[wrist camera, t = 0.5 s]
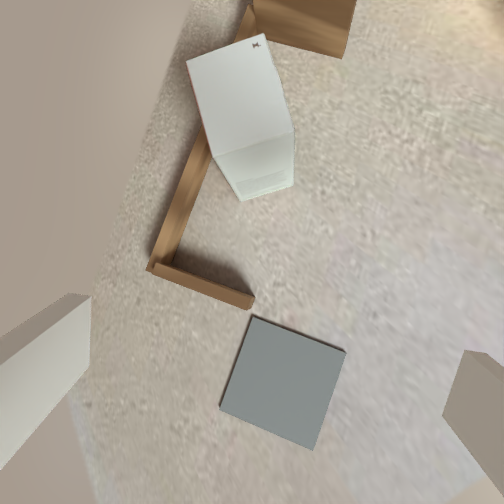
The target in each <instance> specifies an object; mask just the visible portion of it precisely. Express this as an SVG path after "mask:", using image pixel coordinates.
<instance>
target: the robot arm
mask: <svg viewBox="0 0 504 504" xmlns="http://www.w3.org/2000/svg"><path fill="white" fill-rule="evenodd" d="M91 298H92V296H87V295H81V294H73V293H68V294H67V295H65V296H64V297H62V298H60V299H59V300H57V301H56V302H54V303H53V304H51V305H50V306H48V307H47V308H45V309H44V310H42V311H41V312H39V313H37V314H36V315H34V316H33V317H31V318H30V319H28V320H27V321H25V322H24V323H22V324H21V325H19V326H17V327H16V328H14V329H13V330H11V331H10V332H8V333H7V334H5V335H4V336H2V337H1V338H0V470H1V469H2V468H3V467H4V466H5V464H6V463H7V462H8V461H9V460H10V458H11V457H12V456H13V455H14V454H15V453H16V452H17V450H18V449H19V448H20V447H21V446H22V444H23V443H24V442H25V441H26V440H27V439H28V437H29V436H30V435H31V434H32V433H33V432H34V430H35V429H36V428H37V427H38V426H39V425H40V424H41V422H42V421H43V420H44V419H45V418H46V416H47V415H48V414H49V413H50V412H51V411H52V409H53V408H54V407H55V406H56V405H57V404H58V402H59V401H60V400H61V399H62V398H63V397H64V395H65V394H66V393H67V392H68V391H69V390H70V388H71V387H72V386H73V385H74V384H75V383H76V381H77V380H78V379H79V378H80V377H81V376H82V374H83V373H84V372H85V371H86V370H87V369H88V367H89V358H90V328H91ZM442 416H443V418H444V419H445V420H446V422H447V423H448V424H449V426H450V427H451V428H452V430H453V431H454V432H455V434H456V435H457V436H458V437H459V439H460V440H461V441H462V443H463V444H464V445H465V447H466V448H467V449H468V451H469V452H470V453H471V455H472V456H473V457H474V459H475V460H476V461H477V462H478V464H479V465H480V466H481V468H482V469H483V470H484V472H485V473H486V474H487V476H488V477H489V478H490V480H491V481H492V482H493V484H494V485H495V486H496V487H497V489H498V490H499V491H500V493H501V494H502V495H503V497H504V367H503V366H501V365H500V364H499V363H498V362H496V361H495V360H494V359H493V358H491V357H490V356H489V355H488V354H486V353H482V352H475V351H468V350H464V353H463V356H462V359H461V362H460V365H459V368H458V371H457V374H456V376H455V379H454V382H453V385H452V388H451V391H450V394H449V397H448V400H447V402H446V405H445V408H444V411H443V414H442Z"/></svg>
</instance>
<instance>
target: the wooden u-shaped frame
mask: <svg viewBox="0 0 504 504" xmlns="http://www.w3.org/2000/svg"><path fill="white" fill-rule="evenodd" d="M356 1H357V0H253V5H251V4H248V6H247V8H246V11H245V13H244V16H243V19H242V21H241V24H240V26H239V29H238V32H237V34H236V37H235V39H234V42H233V43H236V42H239V41H242V40H245V39H247V38H251V37H254V36H257V35H259V34H262V33H264V34H265V37H266V40H269V41H273V42H277V43H281V44H285V45H289V46H293V47H297V48H300V49H304V50H308V51H312V52H316V53H320V54H324V55H328V56H332V57H336V58H340V59H342V57H343V54H344V51H345V48H346V44H347V39H348V35H349V31H350V27H351V22H352V18H353V14H354V9H355V5H356ZM211 158H212V155H211V152H210V149H209V145H208V142H207V138H206V134H205V131H204V127H203V124H202V125H201V127H200V130H199V133H198V135H197V138H196V140H195V143H194V146H193V148H192V151H191V153H190V156H189V158H188V161H187V164H186V166H185V169H184V171H183V174H182V177H181V179H180V182H179V184H178V187H177V190H176V192H175V195H174V197H173V200H172V202H171V205H170V208H169V210H168V213H167V215H166V218H165V221H164V223H163V226H162V228H161V231H160V234H159V236H158V239H157V241H156V244H155V246H154V249H153V252H152V254H151V257H150V259H149V262H148V265H147V267H146V271H148V272H151V273H152V274H153V275H156V276H158V277H161V278H163V279H166V280H169V281H171V282H174V283H176V284H179V285H182V286H184V287H187V288H189V289H192V290H195V291H197V292H200V293H202V294H205V295H208V296H210V297H213V298H215V299H218V300H220V301H223V302H226V303H228V304H231V305H233V306H236V307H239V308H241V309H244V310H246V311H247V310H248V309H250V308H252V305H253V302H254V299H255V297H254V296H251V295H249V294H246V293H243V292H241V291H238V290H235V289H233V288H230V287H227V286H225V285H222V284H219V283H217V282H214V281H211V280H209V279H206V278H203V277H201V276H198V275H196V274H193V273H190V272H188V271H185V270H182V269H180V268H177V267H174V266H172V265H171V263H172V261H173V258H174V255H175V253H176V250H177V248H178V245H179V242H180V240H181V237H182V234H183V232H184V229H185V227H186V224H187V221H188V219H189V216H190V213H191V211H192V208H193V206H194V203H195V200H196V198H197V195H198V192H199V190H200V187H201V185H202V182H203V179H204V177H205V174H206V172H207V169H208V166H209V164H210V161H211Z"/></svg>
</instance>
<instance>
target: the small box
mask: <svg viewBox="0 0 504 504" xmlns="http://www.w3.org/2000/svg"><path fill="white" fill-rule="evenodd" d="M186 67H187V71H188V75H189V78H190V82H191V85H192V89H193V93H194V96H195V100H196V103H197V107H198V110H199V114H200V117H201V121H202V124H203V127H204V131H205V134H206V138H207V142H208V145H209V149H210V152H211V155H212V157H213V159H214V160H215V162H216V163H217V165H218V167H219V168H220V170H221V171H222V173H223V175H224V176H225V178H226V180H227V181H228V183H229V185H230V186H231V188H232V189H233V191H234V193H235V194H236V196H237V198H238V199H239V201H240V202H242V201H245V200H249V199H252V198H255V197H258V196H261V195H265V194H268V193H271V192H274V191H277V190H281V189H284V188H287V187H291V186H293V185H294V149H295V128H294V124H293V121H292V117H291V114H290V111H289V107H288V104H287V101H286V98H285V94H284V91H283V87H282V84H281V80H280V77H279V74H278V71H277V68H276V66H275V64H274V61H273V58H272V55H271V52H270V49H269V46H268V43H267V40H266V37H265V34H264V33H262V34H259V35H257V36H254V37H251V38H247V39H245V40H242V41H239V42H236V43H233V44H230V45H228V46H225V47H222V48H219V49H217V50H214V51H211V52H209V53H206V54H203V55H200V56H198V57H195V58H193V59H190V60H187V61H186Z"/></svg>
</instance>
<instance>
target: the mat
mask: <svg viewBox="0 0 504 504" xmlns="http://www.w3.org/2000/svg"><path fill="white" fill-rule="evenodd" d="M345 356H346V352H343V351H341V350H338V349H335V348H333V347H330V346H328V345H325V344H323V343H320V342H317V341H315V340H312V339H310V338H307V337H304V336H302V335H299V334H297V333H294V332H292V331H289V330H286V329H284V328H281V327H279V326H276V325H273V324H271V323H268V322H266V321H263V320H261V319H258V318H255V317H253V318H252V321H251V323H250V326H249V329H248V332H247V335H246V337H245V340H244V343H243V346H242V348H241V351H240V354H239V357H238V359H237V362H236V365H235V368H234V370H233V373H232V376H231V379H230V382H229V384H228V387H227V390H226V393H225V395H224V398H223V401H222V404H221V406H220V409H219V410H221V411H223V412H225V413H228V414H230V415H232V416H235V417H237V418H239V419H241V420H244V421H246V422H248V423H251V424H253V425H255V426H257V427H260V428H262V429H264V430H267V431H269V432H271V433H273V434H276V435H278V436H280V437H283V438H285V439H287V440H289V441H292V442H294V443H296V444H298V445H301V446H303V447H305V448H308V449H310V450H312V451H313V449H314V446H315V444H316V441H317V438H318V435H319V432H320V429H321V426H322V423H323V420H324V417H325V414H326V411H327V408H328V405H329V402H330V400H331V397H332V394H333V391H334V388H335V385H336V382H337V379H338V376H339V373H340V370H341V367H342V364H343V361H344V358H345Z"/></svg>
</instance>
